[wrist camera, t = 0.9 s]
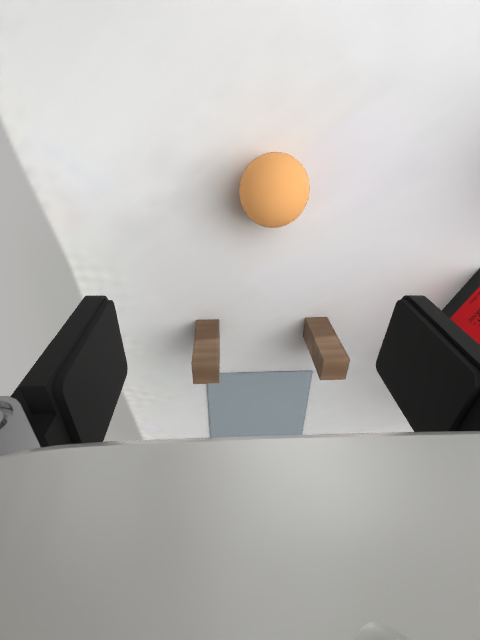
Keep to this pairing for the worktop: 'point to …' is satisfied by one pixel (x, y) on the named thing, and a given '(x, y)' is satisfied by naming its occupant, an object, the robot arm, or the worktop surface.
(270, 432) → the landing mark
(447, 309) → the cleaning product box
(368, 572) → the robot arm
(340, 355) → the post
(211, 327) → the post
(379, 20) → the worktop surface
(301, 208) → the ball
